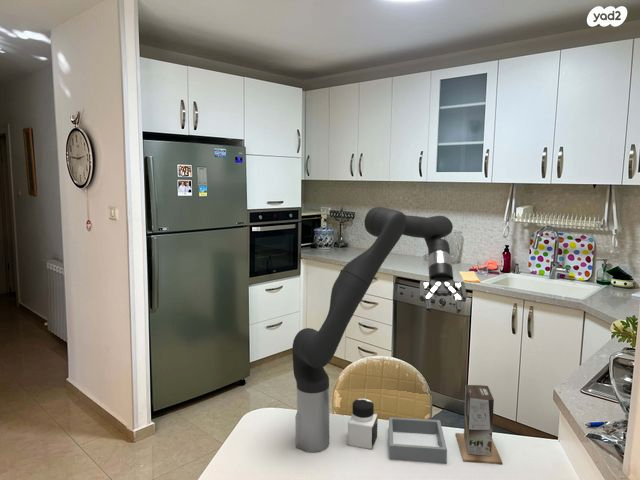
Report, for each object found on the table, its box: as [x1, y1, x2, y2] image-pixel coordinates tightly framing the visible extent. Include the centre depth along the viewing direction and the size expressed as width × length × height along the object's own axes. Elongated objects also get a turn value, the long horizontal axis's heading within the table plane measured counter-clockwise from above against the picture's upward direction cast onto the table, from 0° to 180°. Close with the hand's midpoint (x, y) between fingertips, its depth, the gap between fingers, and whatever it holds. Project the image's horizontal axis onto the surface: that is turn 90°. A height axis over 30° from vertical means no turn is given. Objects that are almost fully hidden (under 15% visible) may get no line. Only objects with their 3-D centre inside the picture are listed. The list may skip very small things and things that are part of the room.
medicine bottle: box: [347, 398, 378, 450], centre depth 130 cm, size 7×7×12 cm
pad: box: [455, 432, 503, 465], centre depth 127 cm, size 10×13×1 cm
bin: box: [388, 416, 448, 465], centre depth 128 cm, size 15×15×4 cm
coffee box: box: [463, 384, 495, 456], centre depth 126 cm, size 9×6×16 cm
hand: (444, 311), depth 139 cm, fingers open, 8 cm apart
